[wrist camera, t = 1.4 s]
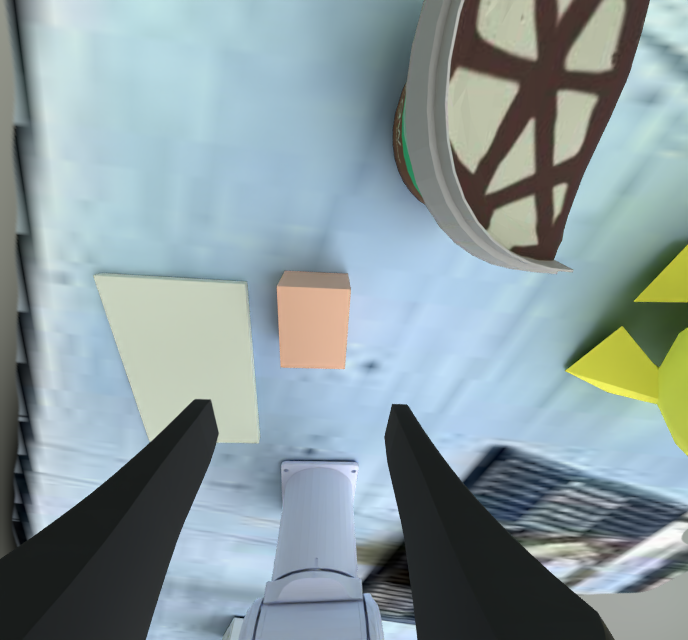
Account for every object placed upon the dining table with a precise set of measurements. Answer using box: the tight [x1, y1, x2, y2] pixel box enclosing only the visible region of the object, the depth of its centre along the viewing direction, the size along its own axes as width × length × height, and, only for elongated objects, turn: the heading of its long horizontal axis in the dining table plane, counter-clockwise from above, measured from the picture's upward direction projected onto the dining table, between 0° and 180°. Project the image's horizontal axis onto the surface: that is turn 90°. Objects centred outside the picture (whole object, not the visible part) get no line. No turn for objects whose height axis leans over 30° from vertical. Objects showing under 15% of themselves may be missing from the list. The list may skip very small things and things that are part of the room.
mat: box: [93, 273, 260, 443], centre depth 23 cm, size 16×10×1 cm, turn 176°
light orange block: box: [277, 271, 351, 369], centre depth 20 cm, size 6×4×4 cm
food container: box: [393, 0, 650, 274], centre depth 12 cm, size 12×6×10 cm, turn 179°
